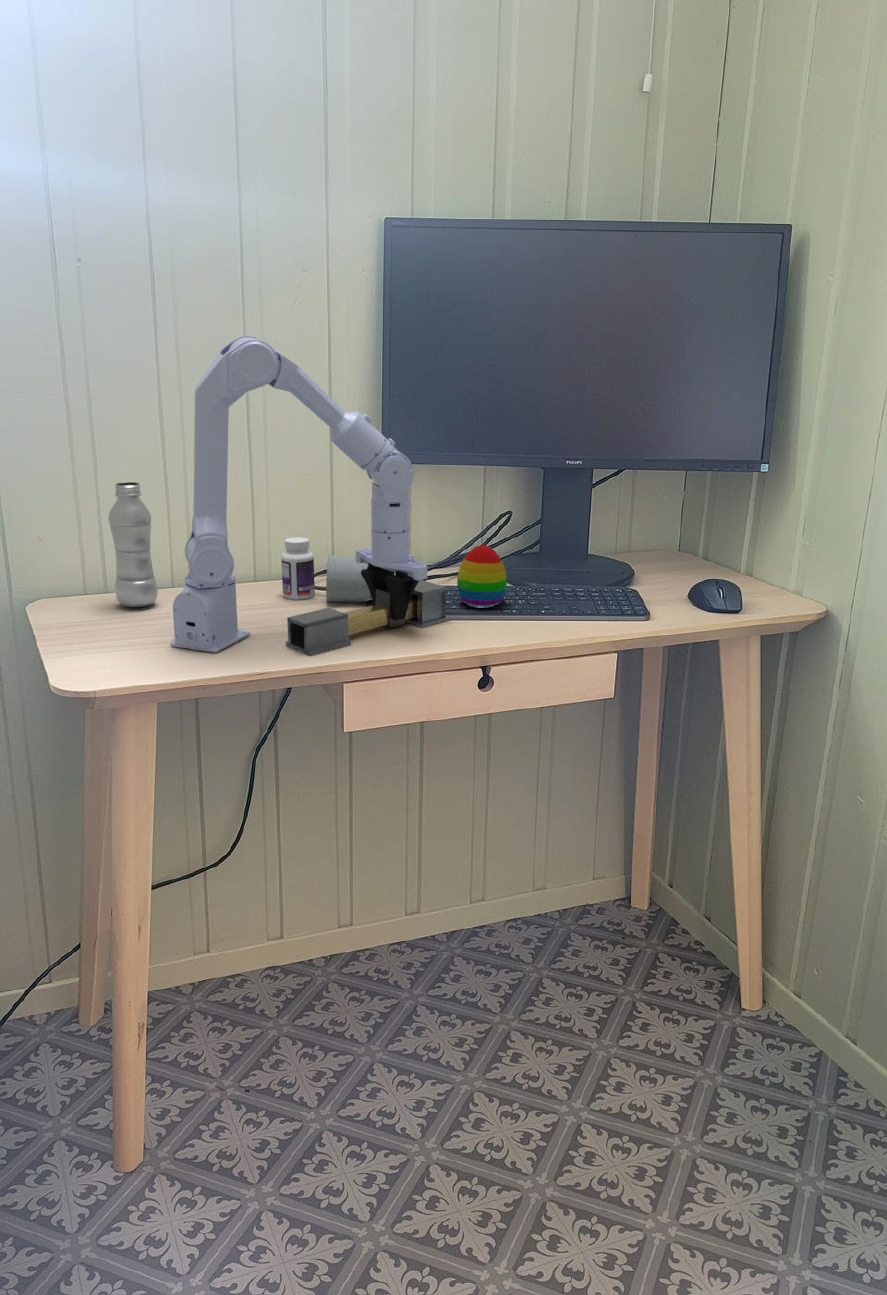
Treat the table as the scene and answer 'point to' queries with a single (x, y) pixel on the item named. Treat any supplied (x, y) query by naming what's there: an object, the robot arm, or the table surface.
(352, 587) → the ceramic mug
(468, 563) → the decorative egg
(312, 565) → the pill bottle
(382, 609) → the two-tone block
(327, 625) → the steel sleeve
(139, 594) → the plastic bottle
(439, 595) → the grey square bracket
